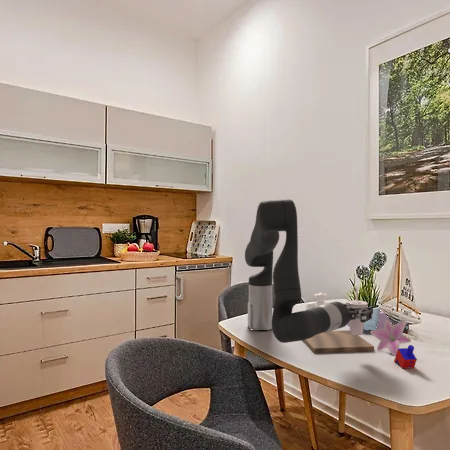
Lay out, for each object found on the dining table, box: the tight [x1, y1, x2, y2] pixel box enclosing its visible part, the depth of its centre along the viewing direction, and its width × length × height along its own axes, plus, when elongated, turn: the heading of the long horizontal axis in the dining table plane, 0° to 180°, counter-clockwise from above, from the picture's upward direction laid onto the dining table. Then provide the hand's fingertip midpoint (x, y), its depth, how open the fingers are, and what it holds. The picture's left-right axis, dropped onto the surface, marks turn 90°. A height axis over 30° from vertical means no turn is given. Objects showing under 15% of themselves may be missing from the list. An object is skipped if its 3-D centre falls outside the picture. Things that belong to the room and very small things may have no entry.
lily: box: [369, 320, 412, 357], centre depth 125 cm, size 12×12×10 cm
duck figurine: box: [305, 292, 331, 310], centre depth 170 cm, size 12×8×11 cm
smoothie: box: [345, 287, 369, 336], centre depth 119 cm, size 6×6×14 cm
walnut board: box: [302, 329, 375, 354], centre depth 132 cm, size 20×18×2 cm
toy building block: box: [393, 344, 418, 369], centre depth 111 cm, size 4×4×8 cm
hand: (361, 308), depth 120 cm, fingers closed on smoothie, 6 cm apart
